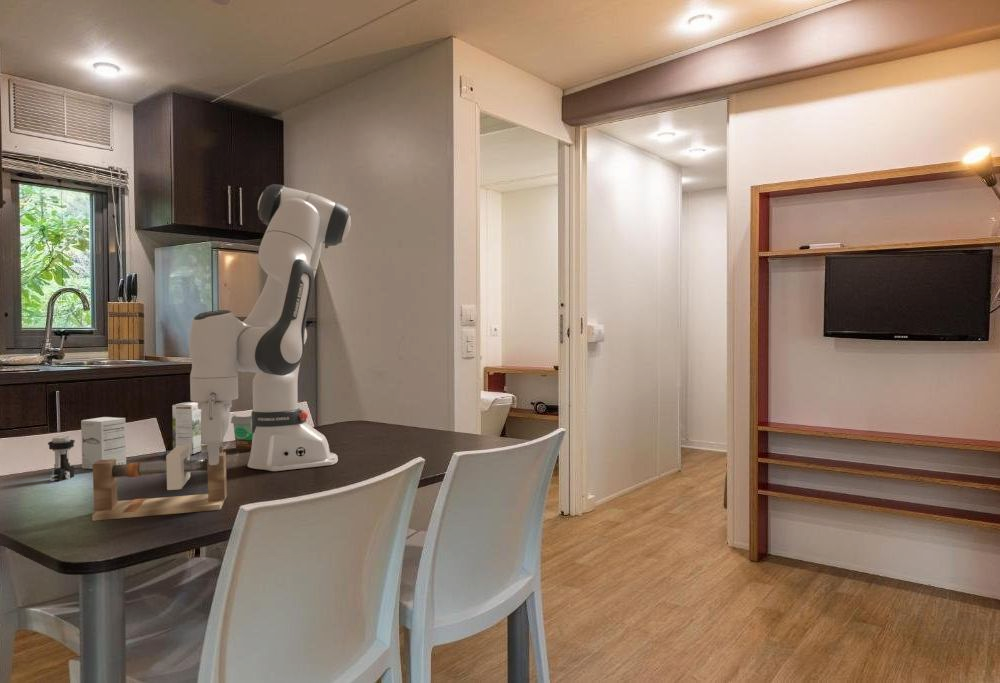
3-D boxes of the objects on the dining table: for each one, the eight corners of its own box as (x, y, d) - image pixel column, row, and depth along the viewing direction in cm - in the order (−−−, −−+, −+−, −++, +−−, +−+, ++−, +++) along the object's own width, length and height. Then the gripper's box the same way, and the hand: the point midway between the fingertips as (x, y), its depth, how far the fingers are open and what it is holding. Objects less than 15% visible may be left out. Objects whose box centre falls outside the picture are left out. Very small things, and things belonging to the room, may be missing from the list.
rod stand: (228, 497, 139) (227, 449, 138) (222, 509, 129) (221, 458, 129) (104, 507, 132) (103, 457, 132) (89, 520, 123) (87, 467, 122)
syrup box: (182, 452, 192) (181, 402, 191) (202, 451, 191) (201, 401, 191) (172, 456, 186) (171, 404, 186) (193, 455, 186) (191, 404, 185)
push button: (61, 482, 154) (60, 440, 154) (39, 483, 155) (38, 440, 154) (80, 476, 161) (79, 435, 161) (59, 476, 161) (58, 435, 161)
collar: (190, 476, 137) (189, 445, 137) (180, 489, 126) (180, 454, 126) (177, 477, 136) (176, 446, 136) (167, 490, 126) (166, 455, 126)
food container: (222, 451, 192) (221, 416, 192) (234, 447, 198) (233, 414, 198) (262, 451, 190) (261, 417, 190) (272, 448, 196) (272, 414, 196)
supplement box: (81, 469, 170) (79, 420, 170) (107, 463, 177) (106, 416, 176) (101, 470, 167) (100, 421, 167) (127, 465, 174) (126, 417, 174)
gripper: (228, 395, 124) (229, 468, 124) (234, 386, 143) (235, 450, 143) (191, 396, 122) (193, 471, 122) (202, 387, 141) (203, 452, 141)
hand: (215, 459), depth 133 cm, fingers open, 8 cm apart
